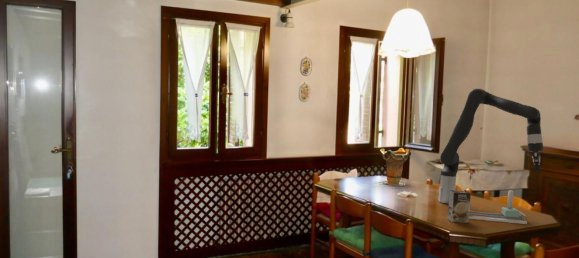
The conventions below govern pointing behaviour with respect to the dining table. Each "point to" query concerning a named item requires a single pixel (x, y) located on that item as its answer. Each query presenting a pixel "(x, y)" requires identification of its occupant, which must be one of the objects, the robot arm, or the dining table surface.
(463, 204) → the coffee box
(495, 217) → the rail track
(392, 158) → the decorative vase
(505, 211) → the carriage
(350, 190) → the dining table surface
